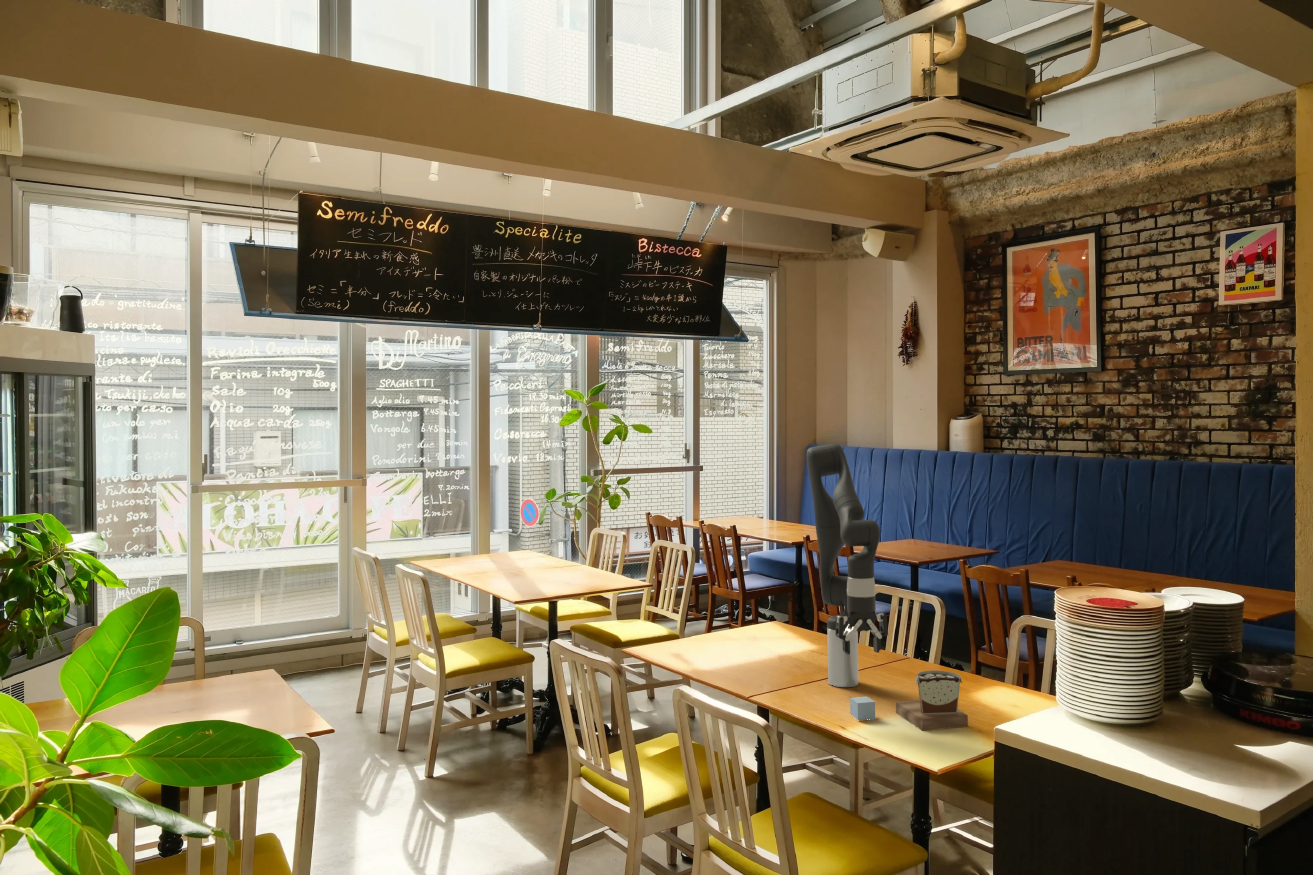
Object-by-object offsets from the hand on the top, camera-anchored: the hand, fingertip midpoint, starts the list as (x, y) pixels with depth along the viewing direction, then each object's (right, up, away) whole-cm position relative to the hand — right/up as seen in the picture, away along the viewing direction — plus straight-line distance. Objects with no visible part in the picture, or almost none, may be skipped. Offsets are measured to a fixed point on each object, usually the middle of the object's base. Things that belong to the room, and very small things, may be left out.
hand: (862, 652), depth 242 cm
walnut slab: (+18, -17, -3) cm, 25 cm away
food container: (+19, -15, -4) cm, 24 cm away
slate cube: (0, -18, 0) cm, 18 cm away
